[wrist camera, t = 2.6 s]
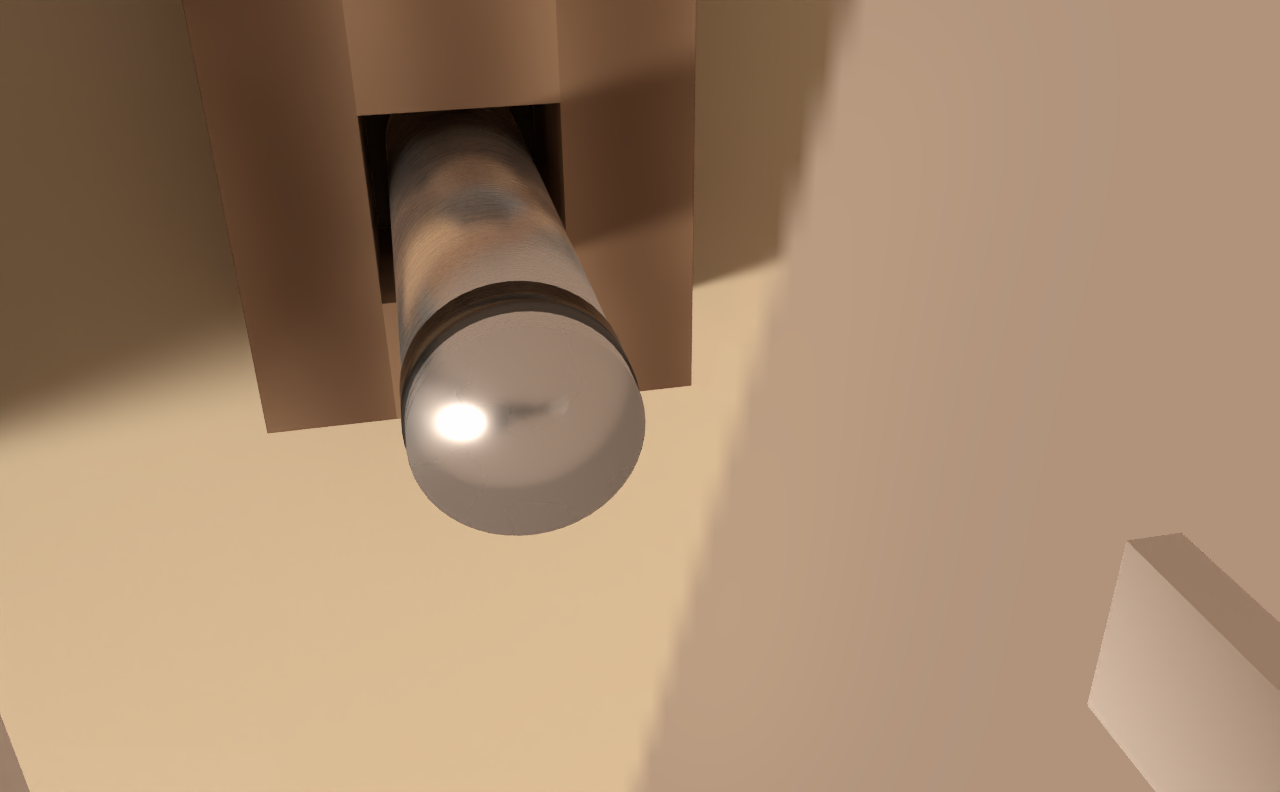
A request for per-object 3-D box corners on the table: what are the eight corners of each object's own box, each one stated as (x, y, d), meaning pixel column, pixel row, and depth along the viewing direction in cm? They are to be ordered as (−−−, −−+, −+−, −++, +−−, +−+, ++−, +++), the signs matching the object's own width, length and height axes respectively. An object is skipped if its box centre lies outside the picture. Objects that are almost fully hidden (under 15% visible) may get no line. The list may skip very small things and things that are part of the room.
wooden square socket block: (280, 341, 36) (267, 433, 31) (207, -62, 30) (176, -31, 25) (646, 304, 38) (691, 385, 33) (643, -77, 32) (696, -52, 27)
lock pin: (391, 212, 35) (416, 552, 19) (375, 78, 33) (388, 337, 17) (523, 202, 35) (648, 520, 20) (515, 70, 34) (647, 311, 18)
